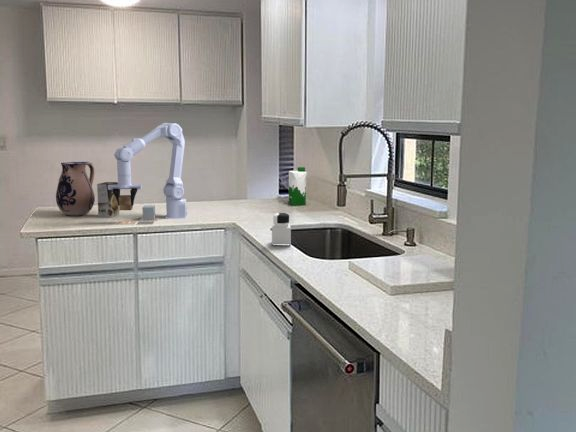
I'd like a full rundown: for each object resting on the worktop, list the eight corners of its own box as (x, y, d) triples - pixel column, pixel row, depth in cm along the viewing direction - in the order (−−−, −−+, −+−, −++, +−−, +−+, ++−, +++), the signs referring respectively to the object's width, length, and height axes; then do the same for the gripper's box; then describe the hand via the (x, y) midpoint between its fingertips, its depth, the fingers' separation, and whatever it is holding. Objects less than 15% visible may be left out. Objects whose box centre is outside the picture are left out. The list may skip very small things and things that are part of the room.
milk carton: (307, 205, 315) (308, 168, 311) (291, 206, 312) (291, 168, 308) (302, 203, 323) (302, 166, 319) (286, 203, 320) (286, 166, 317)
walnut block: (132, 208, 266) (132, 195, 265) (130, 210, 262) (130, 197, 260) (121, 208, 266) (120, 195, 265) (119, 210, 261) (118, 197, 260)
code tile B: (159, 218, 277) (159, 217, 277) (156, 221, 270) (156, 220, 269) (141, 218, 277) (141, 217, 277) (139, 221, 269) (139, 220, 269)
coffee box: (110, 218, 276) (109, 184, 272) (98, 218, 277) (96, 183, 274) (120, 215, 284) (118, 181, 281) (107, 214, 286) (106, 181, 283)
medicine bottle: (290, 241, 232) (290, 211, 229) (290, 246, 225) (291, 215, 222) (271, 241, 231) (271, 211, 229) (271, 246, 224) (272, 215, 222)
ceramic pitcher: (49, 216, 280) (45, 163, 275) (77, 209, 299) (74, 159, 295) (80, 218, 274) (77, 165, 270) (107, 211, 294) (104, 161, 290)
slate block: (155, 218, 276) (154, 205, 275) (154, 220, 271) (153, 207, 270) (144, 218, 275) (144, 205, 274) (142, 220, 270) (142, 207, 269)
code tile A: (137, 221, 269) (137, 220, 269) (134, 225, 261) (134, 224, 261) (119, 221, 268) (119, 220, 268) (115, 225, 261) (115, 224, 261)
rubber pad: (154, 221, 268) (154, 221, 268) (152, 225, 262) (152, 224, 262) (138, 222, 268) (138, 221, 268) (136, 225, 261) (136, 224, 261)
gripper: (105, 176, 256) (107, 207, 259) (139, 176, 258) (141, 206, 260) (109, 174, 263) (110, 204, 266) (142, 174, 265) (143, 203, 267)
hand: (125, 205), depth 263 cm, fingers closed on walnut block, 5 cm apart
